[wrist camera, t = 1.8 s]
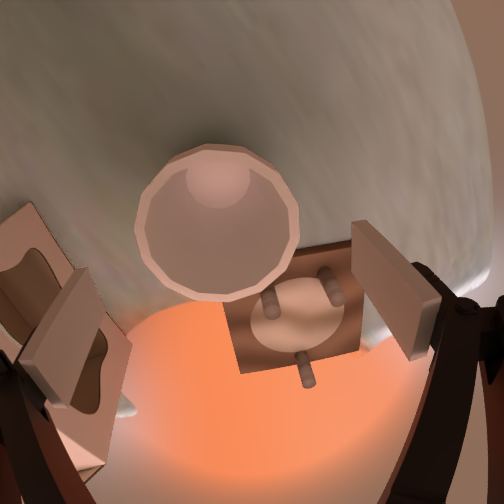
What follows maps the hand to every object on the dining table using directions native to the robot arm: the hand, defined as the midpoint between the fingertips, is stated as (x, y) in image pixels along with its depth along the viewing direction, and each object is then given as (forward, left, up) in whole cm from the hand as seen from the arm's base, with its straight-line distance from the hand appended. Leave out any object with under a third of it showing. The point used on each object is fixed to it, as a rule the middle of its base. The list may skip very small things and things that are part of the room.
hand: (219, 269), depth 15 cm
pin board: (+17, +6, -16) cm, 24 cm away
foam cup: (0, 0, -17) cm, 17 cm away
